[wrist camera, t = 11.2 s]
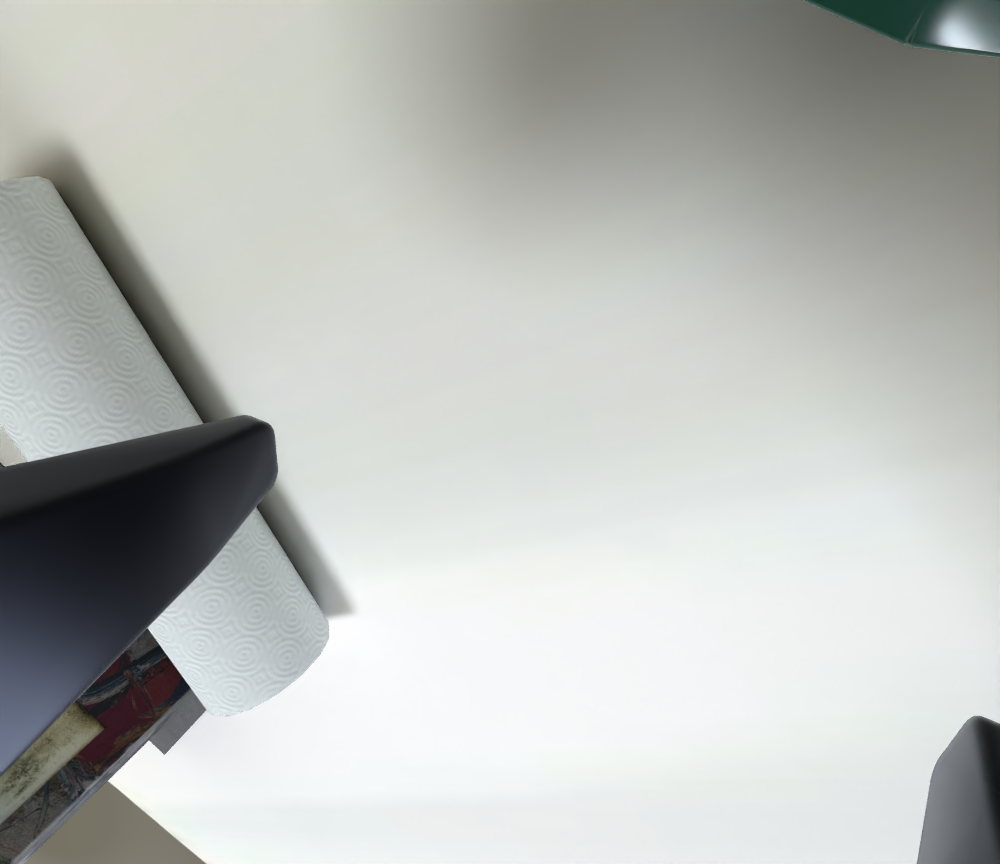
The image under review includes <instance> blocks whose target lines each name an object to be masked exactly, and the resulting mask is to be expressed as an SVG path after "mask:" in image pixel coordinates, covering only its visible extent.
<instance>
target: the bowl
mask: <svg viewBox="0 0 1000 864" xmlns="http://www.w3.org/2000/svg"><path fill="white" fill-rule="evenodd" d="M802 1H804V2H806V3H809V4H811V5H813V6H815V7H818V8H820V9H822V10H824V11H827V12H829V13H831V14H833V15H836V16H838V17H840V18H842V19H845V20H847V21H849V22H851V23H854V24H856V25H858V26H860V27H863V28H865V29H867V30H869V31H872V32H874V33H876V34H879V35H881V36H883V37H885V38H888V39H890V40H892V41H894V42H897V43H899V44H901V45H906V44H908V43H909V46H911V47H912V48H921V49H929V50H937V51H945V52H953V53H961V54H969V55H977V56H985V57H993V58H1000V0H802Z"/></svg>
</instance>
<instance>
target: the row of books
mask: <svg viewBox="0 0 1000 864" xmlns="http://www.w3.org/2000/svg"><path fill="white" fill-rule="evenodd" d="M2 467H3V466H2V465H1V464H0V468H2ZM205 711H206V708H205V707H204V706H203V704H202V703H201V701H200V700H199V699H198V697H197V696H196V695H195V693H194V692H193V690H192V689H191V688H190V686H189V685H188V683H187V682H186V681H185V679H184V678H183V677H182V675H181V674H180V672H179V671H178V670H177V668H176V667H175V665H174V664H173V663H172V661H171V660H170V659H169V657H168V656H167V654H166V653H165V652H164V650H163V649H162V647H161V646H160V645H159V643H158V642H157V641H156V639H155V638H154V636H153V635H152V634H151V632H150V631H149V629H148V628H147V629H146V630H145V631H144V632H143V633H142V634H141V635H140V636H139V637H138V638H137V639H136V640H135V641H134V642H133V643H132V644H131V645H130V646H129V647H128V648H127V649H126V650H125V651H124V652H123V653H122V654H121V655H120V656H119V657H118V658H117V659H116V660H115V661H114V662H113V664H112V665H111V666H110V667H109V668H108V669H107V670H106V671H105V672H104V673H103V674H102V675H101V676H100V677H99V678H98V679H97V680H96V681H95V682H94V683H93V684H92V685H91V686H90V687H89V688H88V689H87V690H86V691H85V692H84V693H83V694H82V695H81V696H80V697H79V698H78V699H77V700H76V701H75V702H74V703H73V704H72V705H71V706H70V707H69V708H68V709H67V710H66V711H65V712H64V713H63V714H62V715H61V716H60V717H59V718H58V719H57V720H56V721H55V722H54V724H53V725H52V726H51V727H50V728H49V729H48V730H47V731H46V732H45V733H44V734H43V735H42V736H41V737H40V738H39V739H38V740H37V741H36V742H35V743H34V744H33V745H32V746H31V747H30V748H29V749H28V750H27V751H26V752H25V753H24V754H23V755H22V756H21V757H20V758H19V759H18V760H17V761H16V762H15V763H14V764H13V765H12V766H11V767H10V768H9V769H8V770H7V771H6V772H5V773H4V774H3V775H2V776H1V777H0V864H24V863H25V862H26V861H27V860H28V859H29V858H30V857H31V856H32V855H33V854H34V853H35V852H36V851H37V850H38V849H39V848H40V847H41V846H42V845H43V844H44V843H45V842H46V841H47V840H48V839H49V838H50V837H51V836H52V835H53V834H54V833H55V832H56V831H57V830H58V829H59V828H60V827H61V826H62V825H63V824H64V823H65V822H66V821H67V820H68V819H69V818H70V817H71V816H72V815H73V814H74V813H75V812H76V811H78V810H79V808H80V807H82V806H83V805H84V804H85V803H86V802H87V800H89V799H90V798H91V797H92V796H93V795H94V794H95V793H96V792H97V790H99V789H100V788H101V787H102V786H103V785H104V784H105V783H106V782H107V781H108V780H109V779H110V778H111V777H112V776H113V775H114V774H115V773H116V772H117V771H118V770H119V769H120V768H121V767H122V766H123V765H124V764H125V763H126V762H127V761H128V760H129V759H130V758H131V757H132V756H133V755H134V754H135V753H136V752H137V751H138V750H139V749H140V748H141V747H142V746H144V745H145V744H146V743H147V742H148V741H151V742H152V743H153V744H154V745H155V746H156V747H157V748H158V749H159V750H160V751H161V752H162V753H163V754H164V755H165V754H166V753H167V752H168V751H169V749H170V748H171V747H172V746H173V745H174V744H175V743H176V742H177V741H178V740H179V739H180V738H181V737H182V735H183V734H184V733H185V732H186V731H187V730H188V729H189V728H190V727H191V726H192V725H193V724H194V723H195V721H196V720H197V719H198V718H199V717H200V716H201V715H202V714H203V713H204V712H205Z"/></svg>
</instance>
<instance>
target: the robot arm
mask: <svg viewBox="0 0 1000 864" xmlns="http://www.w3.org/2000/svg"><path fill="white" fill-rule="evenodd" d="M277 473H278V464H277V454H276V444H275V434H274V430H273V428H272V427H271V425H269V424H268V423H266V422H264V421H261V420H259V419H257V418H254V417H252V416H248V415H242V416H237V417H232V418H227V419H223V420H218V421H214V422H209V423H204V424H200V425H195V426H191V427H186V428H182V429H177V430H172V431H168V432H163V433H159V434H154V435H149V436H145V437H140V438H136V439H131V440H126V441H122V442H117V443H113V444H108V445H103V446H99V447H94V448H90V449H85V450H80V451H76V452H71V453H67V454H62V455H58V456H53V457H48V458H44V459H39V460H35V461H30V462H25V463H21V464H16V465H12V466H7V467H2V468H0V777H1V776H2V775H3V774H4V773H5V772H6V771H7V770H8V769H9V768H10V767H11V766H12V765H13V764H14V763H15V762H16V761H17V760H18V759H19V758H20V757H21V756H22V755H23V754H24V753H25V752H26V751H27V750H28V749H29V748H30V747H31V746H32V745H33V744H34V743H35V742H36V741H37V740H38V739H39V738H40V737H41V736H42V735H43V734H44V733H45V732H46V731H47V730H48V729H49V728H50V727H51V726H52V725H53V724H54V722H55V721H56V720H57V719H58V718H59V717H60V716H61V715H62V714H63V713H64V712H65V711H66V710H67V709H68V708H69V707H70V706H71V705H72V704H73V703H74V702H75V701H76V700H77V699H78V698H79V697H80V696H81V695H82V694H83V693H84V692H85V691H86V690H87V689H88V688H89V687H90V686H91V685H92V684H93V683H94V682H95V681H96V680H97V679H98V678H99V677H100V676H101V675H102V674H103V673H104V672H105V671H106V670H107V669H108V668H109V667H110V666H111V665H112V664H113V662H114V661H115V660H116V659H117V658H118V657H119V656H120V655H121V654H122V653H123V652H124V651H125V650H126V649H127V648H128V647H129V646H130V645H131V644H132V643H133V642H134V641H135V640H136V639H137V638H138V637H139V636H140V635H141V634H142V633H143V632H144V631H145V630H146V629H147V628H148V627H149V626H150V625H151V624H152V623H153V622H154V621H155V620H156V619H157V618H158V617H159V616H160V615H161V614H162V613H163V612H164V611H165V610H166V609H167V608H168V607H169V606H170V605H171V604H172V603H173V601H174V600H175V599H176V598H177V597H178V596H179V595H180V594H181V593H182V592H183V591H184V590H185V589H186V588H187V587H188V586H189V585H190V584H191V583H192V582H193V581H194V580H195V579H196V578H197V577H198V576H199V575H200V574H201V573H202V572H203V571H204V570H205V569H206V567H207V566H208V565H209V564H210V563H211V562H212V561H213V559H214V558H215V557H216V556H217V555H218V554H219V552H220V551H221V550H222V549H223V547H224V546H225V545H226V544H227V542H228V541H229V540H230V539H231V537H232V536H233V535H234V534H235V532H236V531H237V530H238V529H239V528H240V526H241V525H242V524H243V523H244V521H245V520H246V519H247V518H248V516H249V515H250V514H251V513H252V511H253V510H254V509H255V508H256V506H257V505H258V504H259V503H260V501H261V500H262V499H263V498H264V496H265V495H266V494H267V493H268V491H269V490H270V489H271V488H272V486H273V484H274V482H275V480H276V478H277ZM917 864H1000V724H999V723H997V722H994V721H992V720H990V719H987V718H985V717H982V716H973V717H971V718H970V719H969V720H967V721H966V723H965V724H964V725H963V726H962V728H961V729H960V730H959V732H958V733H957V735H956V736H955V737H954V739H953V740H952V741H951V743H950V744H949V745H948V747H947V748H946V749H945V751H944V752H943V753H942V755H941V756H940V757H939V759H938V761H937V763H936V765H935V767H934V770H933V773H932V777H931V781H930V787H929V793H928V799H927V805H926V811H925V818H924V824H923V830H922V836H921V842H920V848H919V854H918V860H917Z"/></svg>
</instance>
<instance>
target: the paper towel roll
mask: <svg viewBox="0 0 1000 864" xmlns="http://www.w3.org/2000/svg"><path fill="white" fill-rule="evenodd" d="M0 424H1V426H2V427H3V429H4V430H5V431H6V433H7V434H8V435H9V437H10V438H11V440H12V441H13V442H14V444H15V445H16V447H17V448H18V449H19V451H20V452H21V453H22V455H23V456H24V458H25V459H26V460H27V462H30V461H35V460H39V459H44V458H48V457H53V456H58V455H62V454H67V453H71V452H76V451H80V450H85V449H90V448H94V447H99V446H103V445H108V444H113V443H117V442H122V441H126V440H131V439H136V438H140V437H145V436H149V435H154V434H159V433H163V432H168V431H172V430H177V429H182V428H186V427H191V426H195V425H200V424H204V423H203V422H202V420H201V419H200V417H199V415H198V414H197V412H196V411H195V409H194V408H193V406H192V404H191V403H190V401H189V400H188V398H187V396H186V395H185V393H184V392H183V390H182V388H181V387H180V385H179V384H178V382H177V381H176V379H175V377H174V376H173V374H172V373H171V371H170V369H169V368H168V366H167V365H166V363H165V361H164V360H163V358H162V357H161V355H160V354H159V352H158V350H157V349H156V347H155V346H154V344H153V342H152V341H151V339H150V338H149V336H148V334H147V333H146V331H145V330H144V328H143V327H142V325H141V323H140V322H139V320H138V319H137V317H136V315H135V314H134V312H133V311H132V309H131V307H130V306H129V304H128V303H127V301H126V300H125V298H124V296H123V295H122V293H121V292H120V290H119V288H118V287H117V285H116V284H115V282H114V280H113V279H112V277H111V276H110V274H109V273H108V271H107V269H106V268H105V266H104V265H103V263H102V261H101V260H100V258H99V257H98V255H97V253H96V252H95V250H94V249H93V247H92V246H91V244H90V242H89V241H88V239H87V238H86V236H85V234H84V233H83V231H82V230H81V228H80V227H79V225H78V223H77V222H76V220H75V219H74V217H73V215H72V214H71V212H70V211H69V209H68V207H67V206H66V204H65V203H64V201H63V200H62V198H61V196H60V195H59V193H58V192H57V190H56V188H55V187H54V185H53V184H52V182H51V181H50V180H49V179H46V178H42V177H39V176H31V177H21V178H12V179H8V180H4V181H0ZM148 629H149V631H150V632H151V634H152V635H153V636H154V638H155V639H156V641H157V642H158V643H159V645H160V646H161V647H162V649H163V650H164V652H165V653H166V654H167V656H168V657H169V659H170V660H171V661H172V663H173V664H174V665H175V667H176V668H177V670H178V671H179V672H180V674H181V675H182V677H183V678H184V679H185V681H186V682H187V683H188V685H189V686H190V688H191V689H192V690H193V692H194V693H195V695H196V696H197V697H198V699H199V700H200V701H201V703H202V704H203V706H204V707H205V708H206V710H207V711H208V712H209V713H211V714H213V715H222V716H229V715H233V714H236V713H239V712H243V711H246V710H249V709H252V708H253V707H255V706H257V705H259V704H261V703H262V702H264V701H266V700H268V699H270V698H272V697H273V696H275V695H277V694H278V693H279V692H281V691H282V690H283V689H285V688H286V687H287V686H288V685H290V684H291V683H292V682H294V681H295V680H296V679H297V678H299V677H300V676H301V675H302V674H303V673H304V672H305V671H306V670H307V669H308V668H309V667H310V665H311V664H312V663H313V662H314V661H315V660H316V659H317V658H318V657H319V656H320V654H321V652H322V650H323V648H324V647H325V645H326V643H327V641H328V639H329V623H328V620H327V619H326V617H325V616H324V614H323V612H322V611H321V609H320V608H319V606H318V604H317V603H316V601H315V600H314V598H313V596H312V595H311V593H310V592H309V590H308V589H307V587H306V585H305V584H304V582H303V581H302V579H301V577H300V576H299V574H298V573H297V571H296V569H295V568H294V566H293V565H292V563H291V562H290V560H289V558H288V557H287V555H286V554H285V552H284V550H283V549H282V547H281V546H280V544H279V542H278V541H277V539H276V538H275V536H274V535H273V533H272V531H271V530H270V528H269V527H268V525H267V523H266V522H265V520H264V519H263V517H262V515H261V514H260V512H259V511H258V509H257V508H255V509H254V510H253V511H252V513H251V514H250V515H249V516H248V518H247V519H246V520H245V521H244V523H243V524H242V525H241V526H240V528H239V529H238V530H237V531H236V532H235V534H234V535H233V536H232V537H231V539H230V540H229V541H228V542H227V544H226V545H225V546H224V547H223V549H222V550H221V551H220V552H219V554H218V555H217V556H216V557H215V558H214V559H213V561H212V562H211V563H210V564H209V565H208V566H207V567H206V569H205V570H204V571H203V572H202V573H201V574H200V575H199V576H198V577H197V578H196V579H195V580H194V581H193V582H192V583H191V584H190V585H189V586H188V587H187V588H186V589H185V590H184V591H183V592H182V593H181V594H180V595H179V596H178V597H177V598H176V599H175V600H174V601H173V603H172V604H171V605H170V606H169V607H168V608H167V609H166V610H165V611H164V612H163V613H162V614H161V615H160V616H159V617H158V618H157V619H156V620H155V621H154V622H153V623H152V624H151V625H150V626H149V627H148Z"/></svg>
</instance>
